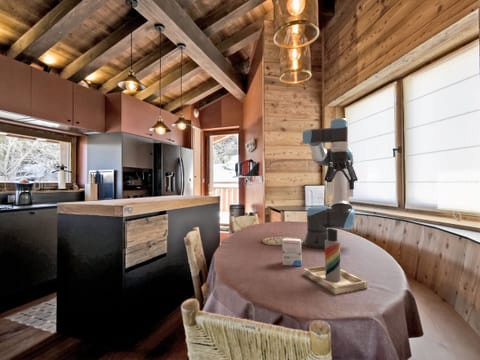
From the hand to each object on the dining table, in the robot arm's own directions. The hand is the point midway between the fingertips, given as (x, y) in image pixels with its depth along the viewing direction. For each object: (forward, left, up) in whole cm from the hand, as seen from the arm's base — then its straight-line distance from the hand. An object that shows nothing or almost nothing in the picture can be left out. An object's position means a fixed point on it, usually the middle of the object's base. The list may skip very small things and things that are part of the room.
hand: (340, 196), depth 122 cm
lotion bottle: (+17, -18, -31) cm, 40 cm away
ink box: (-6, -23, -32) cm, 40 cm away
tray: (+17, -18, -32) cm, 40 cm away
